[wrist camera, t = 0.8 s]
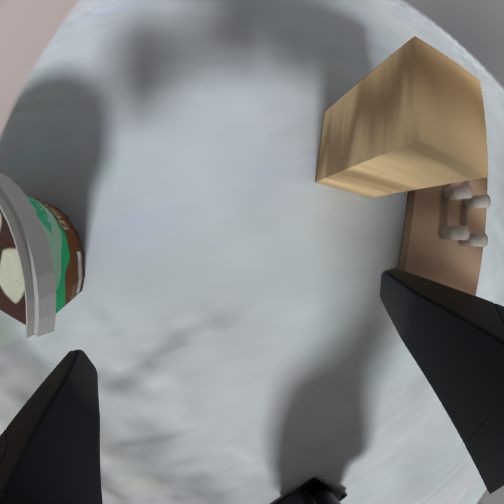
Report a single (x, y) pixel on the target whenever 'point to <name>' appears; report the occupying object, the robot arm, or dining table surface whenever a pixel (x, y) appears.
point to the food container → (36, 259)
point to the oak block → (405, 127)
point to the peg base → (446, 233)
